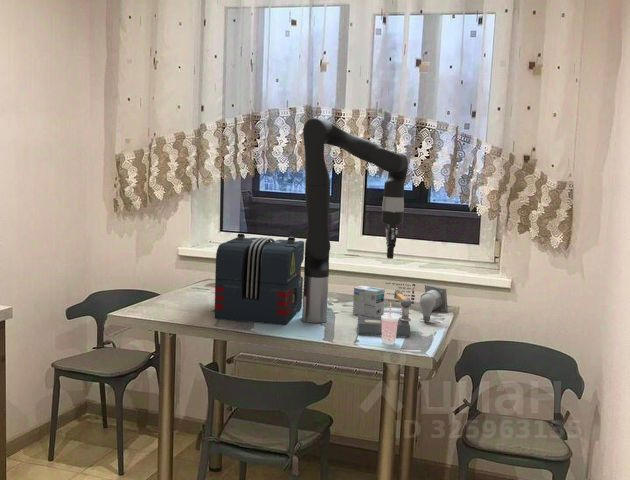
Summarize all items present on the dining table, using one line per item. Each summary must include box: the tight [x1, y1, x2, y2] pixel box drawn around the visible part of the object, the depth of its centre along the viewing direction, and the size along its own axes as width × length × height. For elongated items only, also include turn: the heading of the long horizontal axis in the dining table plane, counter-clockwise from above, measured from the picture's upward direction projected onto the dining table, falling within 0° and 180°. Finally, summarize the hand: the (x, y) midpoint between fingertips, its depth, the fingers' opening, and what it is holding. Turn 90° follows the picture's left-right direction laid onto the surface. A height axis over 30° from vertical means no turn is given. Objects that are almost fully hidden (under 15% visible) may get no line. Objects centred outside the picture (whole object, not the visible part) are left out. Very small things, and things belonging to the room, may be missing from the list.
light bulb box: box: [352, 285, 386, 317], centre depth 267 cm, size 11×7×11 cm, turn 56°
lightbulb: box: [419, 294, 436, 323], centre depth 259 cm, size 6×6×11 cm
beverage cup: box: [380, 301, 400, 345], centre depth 229 cm, size 6×6×14 cm
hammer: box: [393, 291, 412, 307], centre depth 249 cm, size 15×4×2 cm, turn 7°
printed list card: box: [385, 282, 449, 313], centre depth 281 cm, size 27×11×10 cm, turn 78°
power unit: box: [214, 233, 305, 326], centre depth 260 cm, size 28×28×30 cm
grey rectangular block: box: [356, 306, 412, 338], centre depth 242 cm, size 19×10×9 cm, turn 89°
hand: (389, 258), depth 239 cm, fingers closed
